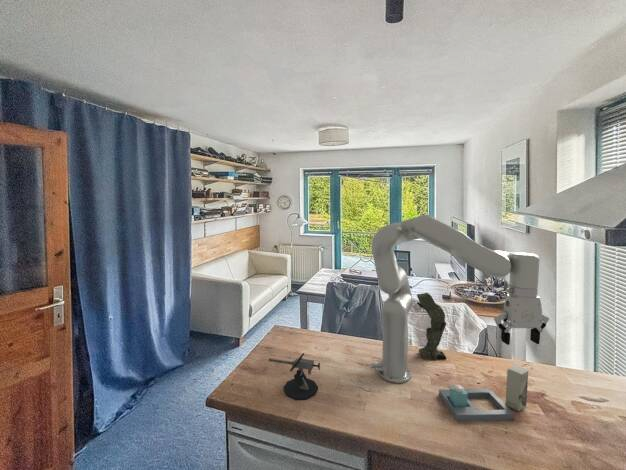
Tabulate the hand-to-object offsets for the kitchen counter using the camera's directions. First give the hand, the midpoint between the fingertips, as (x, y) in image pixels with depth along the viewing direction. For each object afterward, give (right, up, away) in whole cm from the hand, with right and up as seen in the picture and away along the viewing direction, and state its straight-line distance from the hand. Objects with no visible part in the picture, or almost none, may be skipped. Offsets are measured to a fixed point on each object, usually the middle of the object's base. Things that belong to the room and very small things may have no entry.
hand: (520, 342), depth 99 cm
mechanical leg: (-16, -19, +36) cm, 43 cm away
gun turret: (-75, -22, +13) cm, 79 cm away
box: (0, -22, +2) cm, 22 cm away
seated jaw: (-19, -22, +2) cm, 30 cm away
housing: (-14, -22, +2) cm, 26 cm away
